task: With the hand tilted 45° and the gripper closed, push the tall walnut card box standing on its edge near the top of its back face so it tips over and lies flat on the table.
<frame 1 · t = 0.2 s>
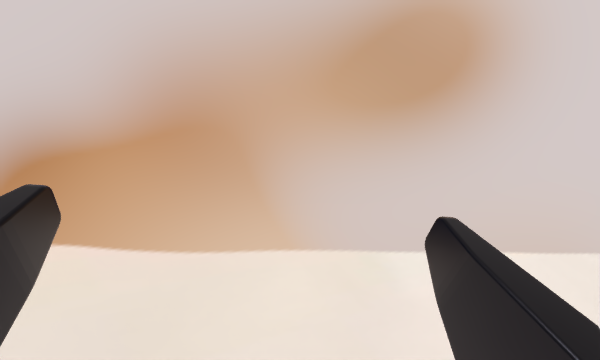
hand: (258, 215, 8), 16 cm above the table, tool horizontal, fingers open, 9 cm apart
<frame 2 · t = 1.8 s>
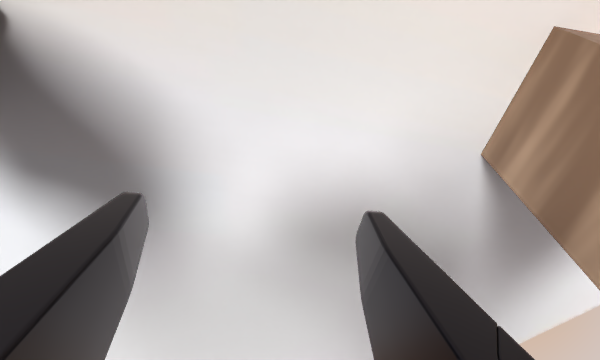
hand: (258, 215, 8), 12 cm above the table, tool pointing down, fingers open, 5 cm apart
walnut card box: (539, 101, 20), on the table
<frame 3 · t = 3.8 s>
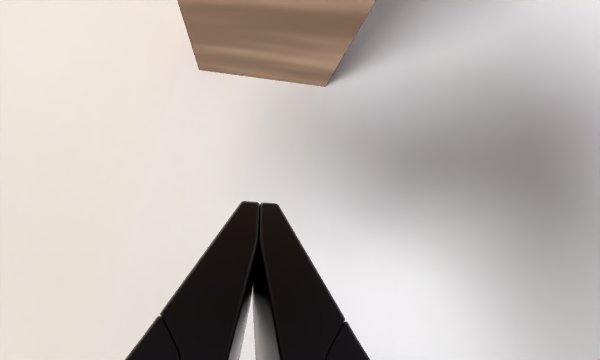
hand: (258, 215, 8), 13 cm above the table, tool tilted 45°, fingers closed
walnut card box: (266, 52, 22), on the table
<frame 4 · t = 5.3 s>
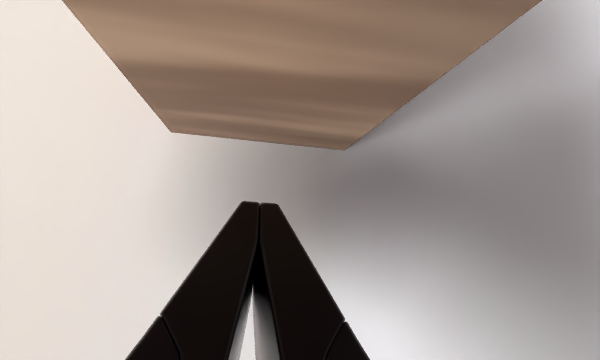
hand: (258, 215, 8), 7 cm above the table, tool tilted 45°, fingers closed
walnut card box: (263, 105, 16), on the table
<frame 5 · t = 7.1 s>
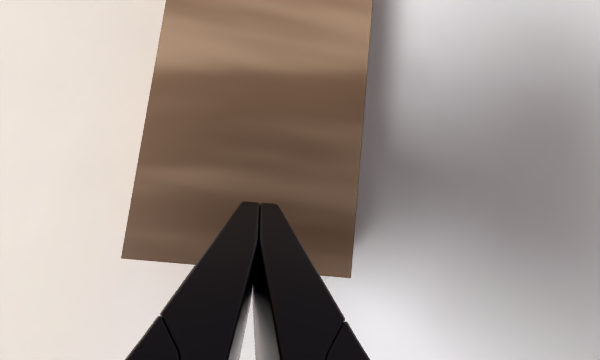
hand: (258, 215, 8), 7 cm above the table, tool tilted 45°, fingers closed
walnut card box: (241, 262, 14), point 1 cm above the table, tilted 90°
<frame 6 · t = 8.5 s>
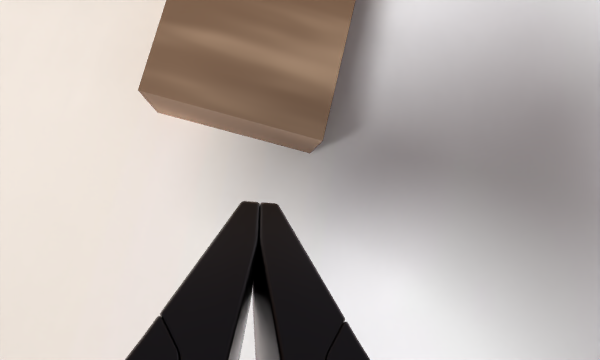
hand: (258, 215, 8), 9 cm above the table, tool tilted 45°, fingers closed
walnut card box: (234, 126, 16), point 1 cm above the table, tilted 90°
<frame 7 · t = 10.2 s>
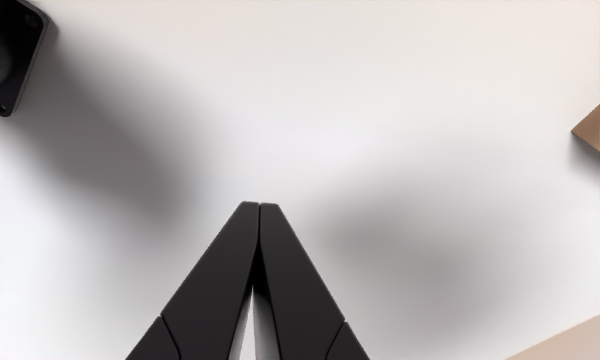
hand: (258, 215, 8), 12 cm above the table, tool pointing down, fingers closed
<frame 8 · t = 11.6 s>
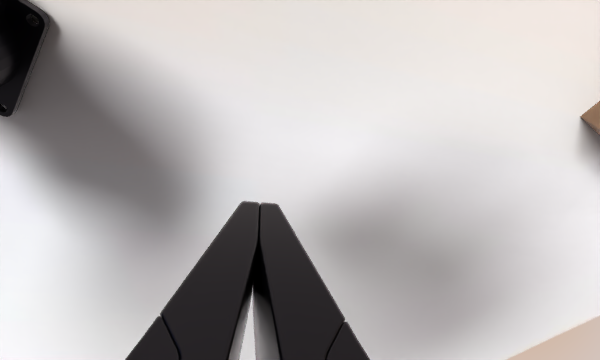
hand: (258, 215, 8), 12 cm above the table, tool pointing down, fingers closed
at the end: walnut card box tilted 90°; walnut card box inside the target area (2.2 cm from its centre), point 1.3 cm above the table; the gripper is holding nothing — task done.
